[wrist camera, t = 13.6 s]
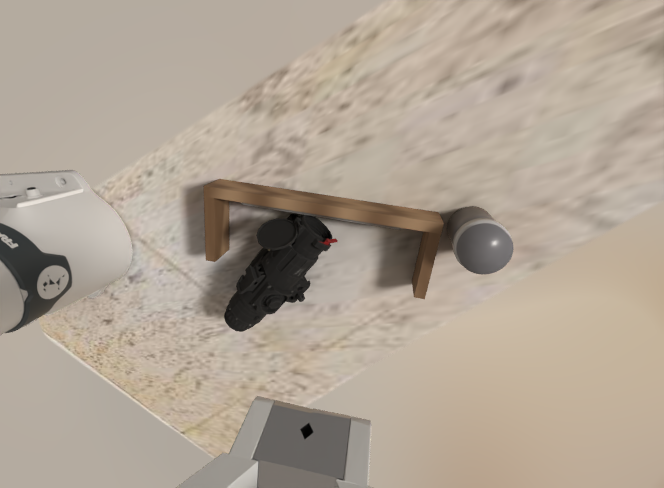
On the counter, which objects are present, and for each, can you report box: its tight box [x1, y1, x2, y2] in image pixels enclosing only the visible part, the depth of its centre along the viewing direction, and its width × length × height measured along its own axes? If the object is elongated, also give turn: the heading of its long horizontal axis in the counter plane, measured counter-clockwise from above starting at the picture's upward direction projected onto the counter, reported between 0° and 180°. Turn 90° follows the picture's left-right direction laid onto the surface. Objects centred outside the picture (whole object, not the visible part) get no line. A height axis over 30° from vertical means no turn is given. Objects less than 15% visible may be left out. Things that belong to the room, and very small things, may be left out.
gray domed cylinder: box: [447, 206, 513, 274], centre depth 36 cm, size 5×5×7 cm
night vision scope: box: [224, 214, 337, 332], centre depth 42 cm, size 8×18×10 cm
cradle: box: [204, 179, 444, 299], centre depth 41 cm, size 26×9×4 cm, turn 83°
